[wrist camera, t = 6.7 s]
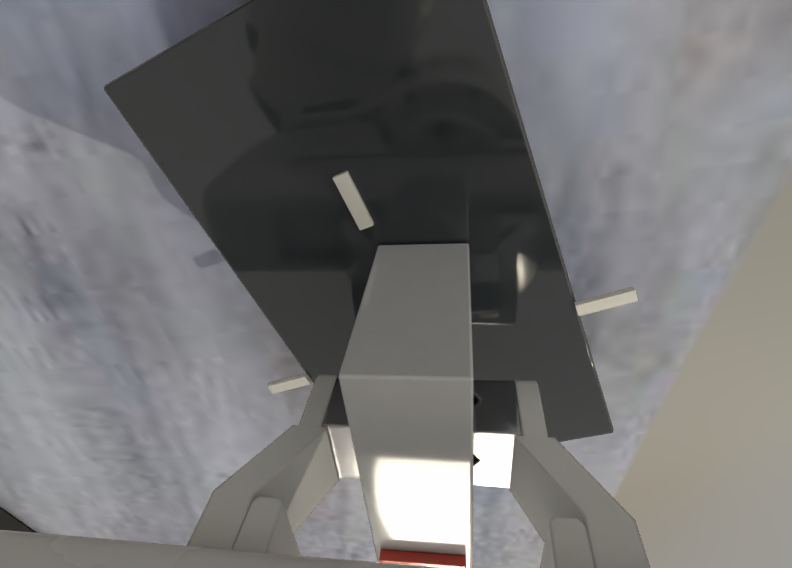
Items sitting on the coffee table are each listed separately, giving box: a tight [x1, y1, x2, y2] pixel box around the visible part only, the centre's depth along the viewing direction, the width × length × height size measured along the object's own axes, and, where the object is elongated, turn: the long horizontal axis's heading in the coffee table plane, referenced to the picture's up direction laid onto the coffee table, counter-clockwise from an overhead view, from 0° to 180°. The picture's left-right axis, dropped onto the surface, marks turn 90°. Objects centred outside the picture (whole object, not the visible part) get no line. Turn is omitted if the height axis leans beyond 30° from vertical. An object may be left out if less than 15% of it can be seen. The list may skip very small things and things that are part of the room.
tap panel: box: [104, 0, 638, 442], centre depth 13 cm, size 14×11×3 cm
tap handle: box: [338, 243, 474, 568], centre depth 11 cm, size 6×2×5 cm, turn 5°
